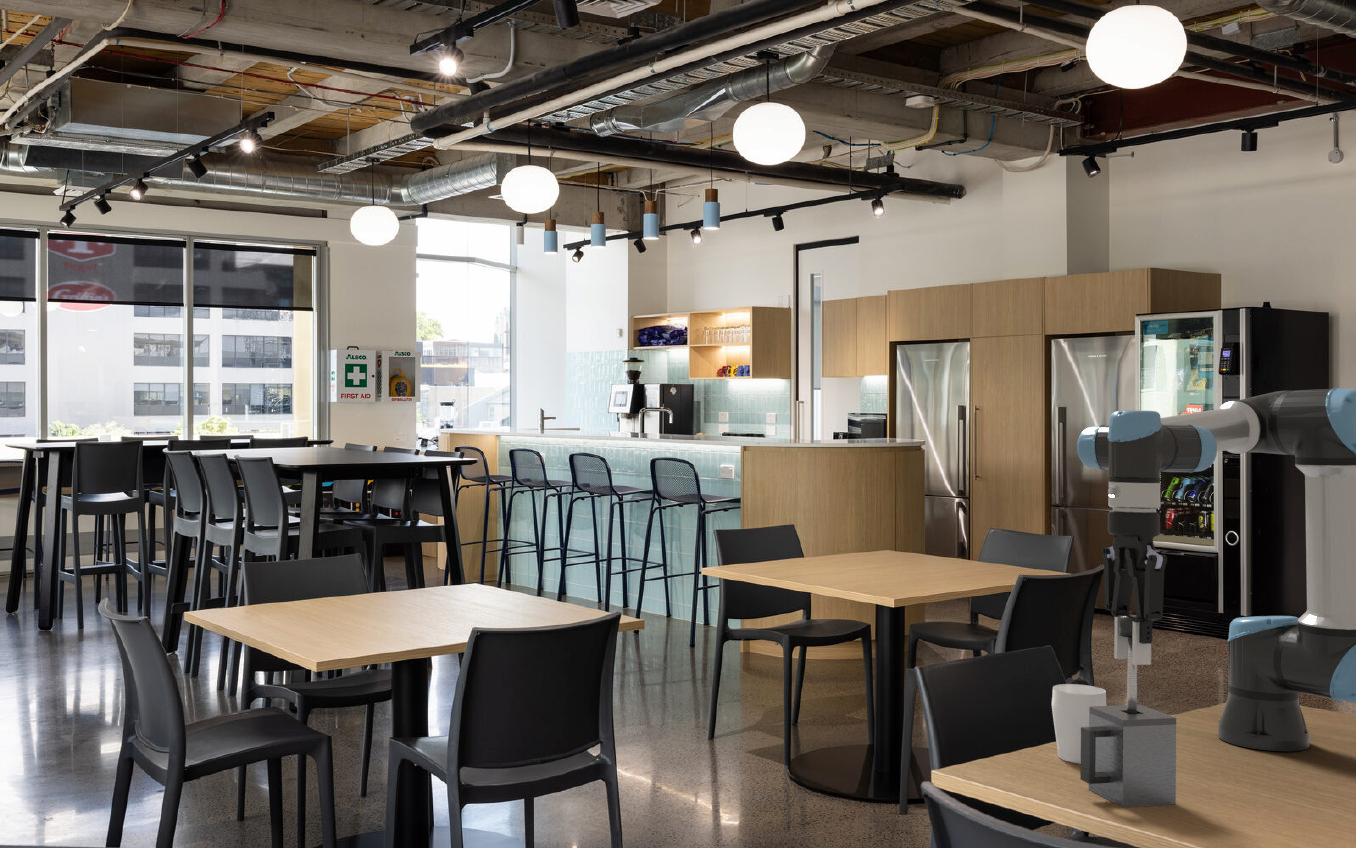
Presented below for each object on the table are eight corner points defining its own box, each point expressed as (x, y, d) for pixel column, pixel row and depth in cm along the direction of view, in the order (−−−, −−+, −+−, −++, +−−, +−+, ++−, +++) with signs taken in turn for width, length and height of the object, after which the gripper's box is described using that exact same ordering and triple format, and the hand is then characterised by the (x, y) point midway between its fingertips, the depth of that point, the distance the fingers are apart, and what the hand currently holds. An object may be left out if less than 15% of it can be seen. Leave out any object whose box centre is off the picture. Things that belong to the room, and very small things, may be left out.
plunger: (1137, 742, 182) (1138, 613, 182) (1163, 753, 175) (1164, 619, 176) (1101, 744, 180) (1102, 613, 180) (1125, 755, 174) (1126, 620, 174)
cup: (1110, 768, 194) (1111, 696, 194) (1054, 764, 195) (1055, 693, 196) (1101, 754, 202) (1102, 685, 203) (1048, 750, 204) (1048, 682, 204)
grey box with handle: (1139, 786, 183) (1140, 704, 183) (1175, 804, 174) (1176, 718, 174) (1068, 790, 180) (1069, 707, 180) (1101, 808, 171) (1102, 721, 172)
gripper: (1081, 506, 186) (1079, 652, 185) (1146, 513, 169) (1144, 673, 169) (1122, 507, 187) (1121, 651, 187) (1190, 513, 171) (1189, 671, 170)
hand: (1132, 661), depth 178 cm, fingers closed on plunger, 4 cm apart
